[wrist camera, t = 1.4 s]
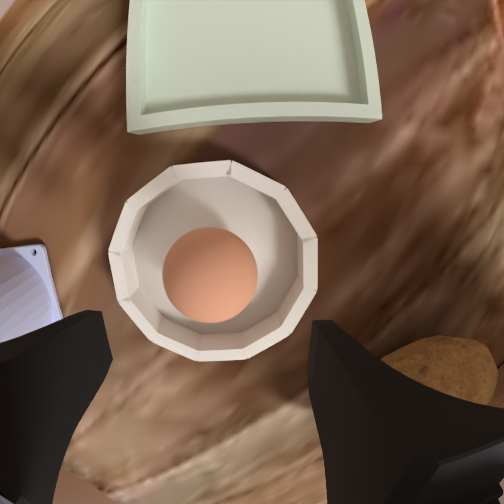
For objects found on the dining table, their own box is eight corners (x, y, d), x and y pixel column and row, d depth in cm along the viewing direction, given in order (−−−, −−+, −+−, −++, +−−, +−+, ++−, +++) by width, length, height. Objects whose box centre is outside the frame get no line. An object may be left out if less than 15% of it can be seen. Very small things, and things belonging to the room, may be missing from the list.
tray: (138, 135, 17) (127, 131, 15) (141, -21, 14) (133, -35, 12) (368, 123, 17) (382, 119, 15) (344, -28, 14) (353, -42, 12)
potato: (289, 382, 22) (306, 464, 14) (445, 284, 20) (512, 332, 13) (337, 441, 24) (357, 508, 17) (463, 363, 23) (509, 412, 15)
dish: (143, 342, 20) (133, 361, 18) (114, 174, 17) (98, 176, 15) (308, 333, 21) (315, 352, 18) (305, 157, 18) (314, 156, 15)
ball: (179, 301, 19) (161, 342, 14) (168, 223, 18) (143, 243, 13) (257, 296, 19) (263, 338, 15) (253, 216, 18) (257, 235, 13)
